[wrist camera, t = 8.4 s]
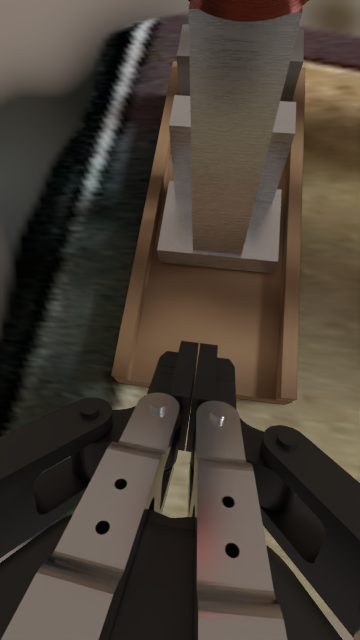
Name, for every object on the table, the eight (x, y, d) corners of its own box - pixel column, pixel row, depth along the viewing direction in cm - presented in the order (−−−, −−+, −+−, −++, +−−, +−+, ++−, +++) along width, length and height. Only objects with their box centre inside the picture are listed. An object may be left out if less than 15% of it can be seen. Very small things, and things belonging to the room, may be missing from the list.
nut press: (285, 404, 20) (316, 393, 15) (119, 382, 21) (94, 365, 16) (296, 101, 28) (319, 24, 22) (174, 95, 29) (169, 18, 23)
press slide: (272, 277, 21) (499, -194, 5) (158, 266, 21) (59, -187, 6) (277, 192, 23) (451, -335, 7) (172, 184, 23) (126, -320, 8)
